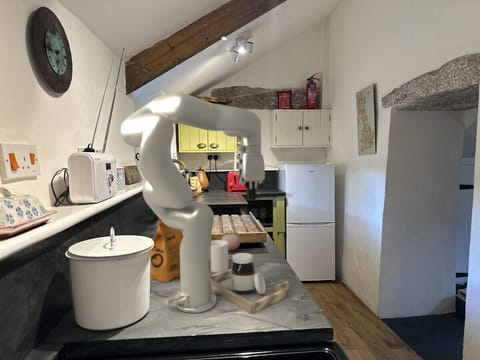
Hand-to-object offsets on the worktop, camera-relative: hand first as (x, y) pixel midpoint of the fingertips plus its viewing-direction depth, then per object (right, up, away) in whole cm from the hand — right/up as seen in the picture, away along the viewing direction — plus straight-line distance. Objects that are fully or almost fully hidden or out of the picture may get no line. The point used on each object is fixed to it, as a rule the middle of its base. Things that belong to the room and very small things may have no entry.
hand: (251, 199), depth 109 cm
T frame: (-1, -30, -10) cm, 32 cm away
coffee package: (-32, -30, +1) cm, 44 cm away
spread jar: (-1, -30, -12) cm, 33 cm away
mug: (-13, -29, +9) cm, 33 cm away
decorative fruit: (-8, -27, +29) cm, 40 cm away
